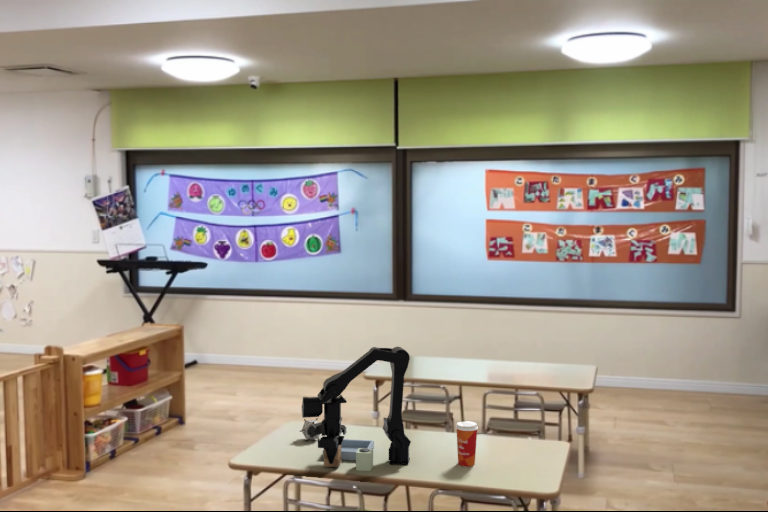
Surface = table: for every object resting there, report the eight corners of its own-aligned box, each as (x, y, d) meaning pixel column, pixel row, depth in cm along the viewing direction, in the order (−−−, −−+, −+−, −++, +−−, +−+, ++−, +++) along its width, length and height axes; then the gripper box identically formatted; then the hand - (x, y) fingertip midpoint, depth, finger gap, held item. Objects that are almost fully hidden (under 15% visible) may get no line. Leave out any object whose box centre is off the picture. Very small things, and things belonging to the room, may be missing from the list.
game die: (315, 450, 286) (318, 434, 280) (294, 441, 288) (298, 425, 282) (324, 433, 293) (328, 417, 287) (305, 424, 295) (308, 408, 288)
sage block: (373, 466, 259) (373, 448, 258) (370, 471, 254) (370, 452, 253) (358, 465, 259) (358, 447, 259) (355, 470, 254) (356, 452, 254)
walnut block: (341, 462, 260) (341, 444, 260) (338, 466, 255) (338, 448, 255) (327, 461, 261) (326, 443, 260) (323, 466, 256) (323, 448, 255)
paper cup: (451, 461, 263) (451, 422, 262) (470, 459, 266) (471, 419, 265) (462, 469, 256) (462, 428, 255) (482, 466, 259) (482, 425, 258)
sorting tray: (374, 448, 277) (374, 440, 277) (367, 461, 263) (367, 452, 263) (331, 446, 279) (331, 438, 279) (322, 458, 266) (322, 450, 265)
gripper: (315, 407, 267) (315, 451, 268) (302, 422, 249) (302, 469, 250) (346, 409, 266) (346, 452, 267) (335, 423, 247) (336, 470, 248)
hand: (332, 461), depth 258 cm, fingers closed on walnut block, 5 cm apart
